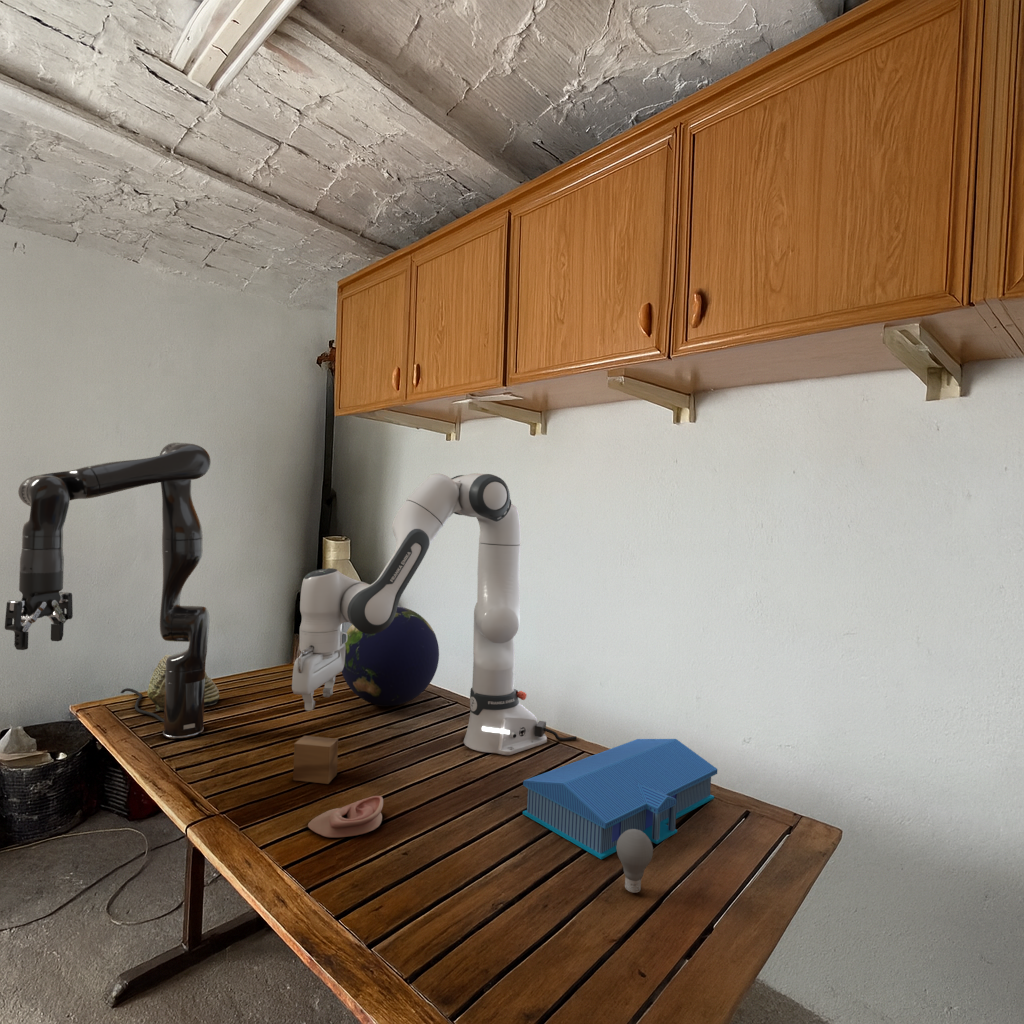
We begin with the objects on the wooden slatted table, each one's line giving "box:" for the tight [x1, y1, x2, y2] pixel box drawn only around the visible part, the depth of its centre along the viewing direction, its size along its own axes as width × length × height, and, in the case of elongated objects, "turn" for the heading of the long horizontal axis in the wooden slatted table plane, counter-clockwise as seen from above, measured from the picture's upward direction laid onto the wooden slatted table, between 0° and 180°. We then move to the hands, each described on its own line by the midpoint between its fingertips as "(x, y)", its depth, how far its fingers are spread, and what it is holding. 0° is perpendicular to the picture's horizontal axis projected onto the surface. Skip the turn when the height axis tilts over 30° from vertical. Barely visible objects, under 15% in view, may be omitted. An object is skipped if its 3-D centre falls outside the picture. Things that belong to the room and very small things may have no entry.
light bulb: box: [616, 829, 654, 894], centre depth 106 cm, size 6×6×10 cm
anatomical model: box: [307, 795, 384, 839], centre depth 123 cm, size 13×4×12 cm
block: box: [292, 735, 339, 785], centre depth 143 cm, size 5×8×8 cm, turn 83°
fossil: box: [147, 654, 221, 712], centre depth 185 cm, size 9×18×15 cm, turn 132°
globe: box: [341, 605, 440, 707], centre depth 194 cm, size 30×30×30 cm
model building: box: [522, 738, 718, 860], centre depth 134 cm, size 39×24×10 cm, turn 132°
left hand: (39, 645), depth 135 cm, fingers open, 8 cm apart
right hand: (319, 702), depth 142 cm, fingers open, 8 cm apart
